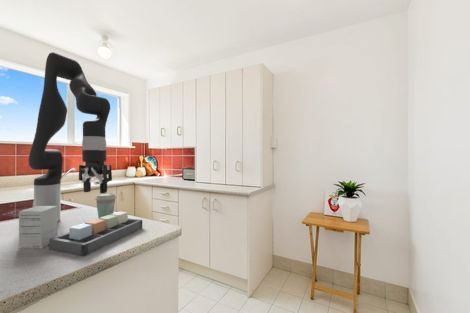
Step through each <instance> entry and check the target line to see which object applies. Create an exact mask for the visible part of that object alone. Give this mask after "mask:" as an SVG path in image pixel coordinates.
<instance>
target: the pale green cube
mask: <svg viewBox="0 0 470 313" xmlns="http://www.w3.org/2000/svg"><path fill="white" fill-rule="evenodd" d="M98 219H101V220H105V228H107V229H108V228H111V227H113V226H116V225H117V216H113V215H107V216H104V217H100V218H98Z"/></svg>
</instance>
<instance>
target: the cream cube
mask: <svg viewBox="0 0 470 313" xmlns="http://www.w3.org/2000/svg"><path fill="white" fill-rule="evenodd" d="M111 215H113V216H117V224H121V223H123V222H126V221H128V217H129V216H128V215H129V214H128V211H127V212H126V211H116V212H114V213H113V214H111Z"/></svg>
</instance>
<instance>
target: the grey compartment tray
mask: <svg viewBox="0 0 470 313" xmlns="http://www.w3.org/2000/svg"><path fill="white" fill-rule="evenodd" d="M142 229H143V219H137V218H128V221H126V222H123V223H121V224H117V225H116V226H113V227H111V228H108V229H107V228H105V230H103V231H101V232H98V233H96V234H92V235H91V236H88V237H85V238H83V239H80V240H77V239H71V238H69V231H68V232H65V233H62V234H59V235H58V236H56V237H53V238H51V239H49V244H48V246H49V248H48V250H50V251H53V252H58V253H59V252H60V253H65V254H69V255H75V256H80V257H86V256H88V255H90V254H92V253H94V252H96V251H99V250H101V249H103V248H105V247H107V246H109V245H111V244H113V243H114V242H117V241H119V240H121V239H123V238H125V237H127V236H130V235H132V234H133V233H135V232H138V231H140V230H142Z"/></svg>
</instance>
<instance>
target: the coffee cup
mask: <svg viewBox="0 0 470 313" xmlns="http://www.w3.org/2000/svg"><path fill="white" fill-rule="evenodd" d="M116 198H117V196H116V193H114V192H106V193H103V194H102V193H99V194H97V195H96V197H95V200H96V209H97V210H96V211H97V216H98V217H97V219H99V218H100V217H104V216H107V215H111V214H113V213H115V211H114V210H115V206H116V205H115V204H116Z"/></svg>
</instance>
